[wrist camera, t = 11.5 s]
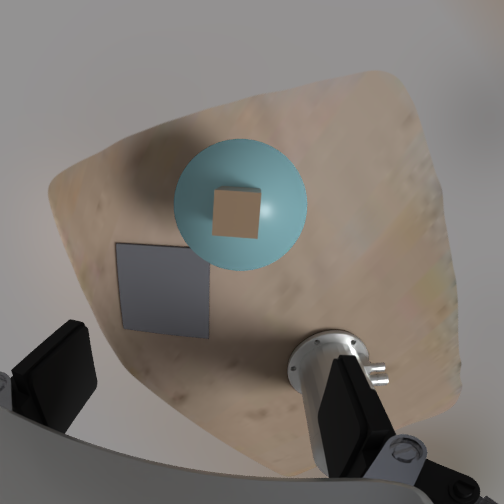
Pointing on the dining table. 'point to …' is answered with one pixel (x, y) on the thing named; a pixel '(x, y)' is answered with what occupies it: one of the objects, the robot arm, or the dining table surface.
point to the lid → (240, 204)
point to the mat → (163, 289)
